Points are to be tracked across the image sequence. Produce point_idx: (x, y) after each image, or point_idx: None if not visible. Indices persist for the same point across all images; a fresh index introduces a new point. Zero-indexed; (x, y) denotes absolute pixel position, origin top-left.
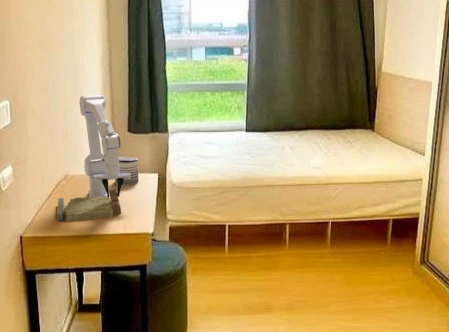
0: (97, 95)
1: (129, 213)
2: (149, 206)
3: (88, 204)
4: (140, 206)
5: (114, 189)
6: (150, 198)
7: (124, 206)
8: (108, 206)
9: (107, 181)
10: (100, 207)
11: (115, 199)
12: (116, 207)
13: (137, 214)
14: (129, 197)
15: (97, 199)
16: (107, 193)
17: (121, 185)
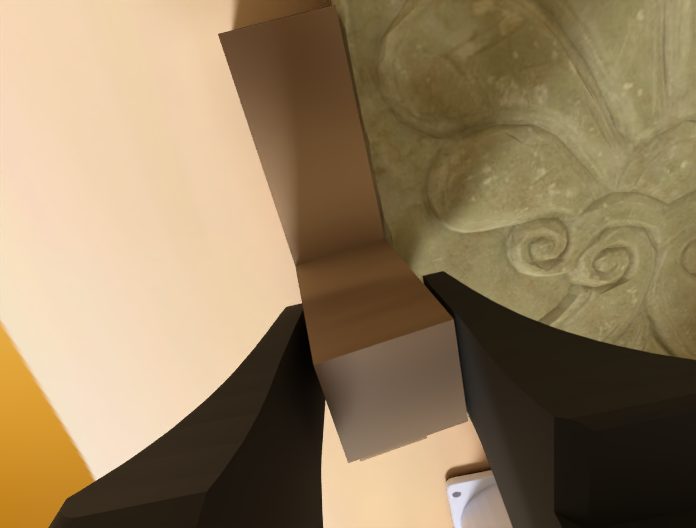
0: None
1: (131, 52)
2: (10, 291)
3: (675, 145)
4: (102, 289)
5: (348, 354)
6: (102, 465)
7: (261, 284)
8: (401, 65)
9: (590, 511)
10: (517, 10)
11: (334, 263)
12: (274, 21)
13: (11, 9)
14: None
15: (551, 325)
16: (465, 289)
17: (173, 434)
